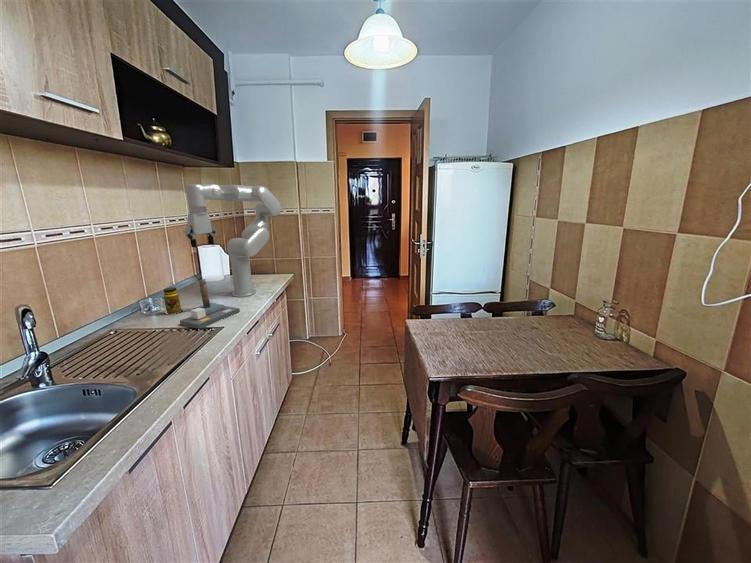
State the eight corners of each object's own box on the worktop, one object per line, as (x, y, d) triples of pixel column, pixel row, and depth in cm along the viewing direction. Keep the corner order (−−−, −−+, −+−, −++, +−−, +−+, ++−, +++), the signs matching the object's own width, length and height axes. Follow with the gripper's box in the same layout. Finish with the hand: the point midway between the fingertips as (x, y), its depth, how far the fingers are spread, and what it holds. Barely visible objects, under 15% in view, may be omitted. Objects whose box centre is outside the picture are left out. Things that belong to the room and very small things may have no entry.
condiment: (170, 315, 158) (166, 291, 155) (161, 312, 162) (156, 289, 159) (185, 311, 164) (181, 287, 161) (176, 308, 168) (172, 285, 165)
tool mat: (210, 303, 175) (210, 302, 174) (224, 306, 170) (224, 304, 170) (189, 310, 164) (189, 309, 164) (203, 313, 160) (203, 312, 160)
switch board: (221, 309, 166) (221, 305, 165) (239, 312, 161) (239, 308, 160) (180, 324, 146) (179, 320, 146) (199, 328, 142) (198, 324, 141)
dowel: (207, 306, 169) (202, 279, 165) (211, 306, 168) (206, 279, 164) (202, 307, 166) (197, 280, 163) (206, 308, 165) (201, 281, 162)
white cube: (199, 315, 151) (198, 307, 150) (205, 316, 150) (204, 308, 149) (191, 318, 148) (190, 310, 147) (197, 319, 146) (196, 311, 145)
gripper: (207, 209, 171) (212, 243, 176) (175, 211, 156) (181, 248, 160) (218, 209, 168) (222, 243, 173) (186, 211, 153) (192, 248, 157)
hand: (203, 245), depth 166 cm, fingers open, 9 cm apart
